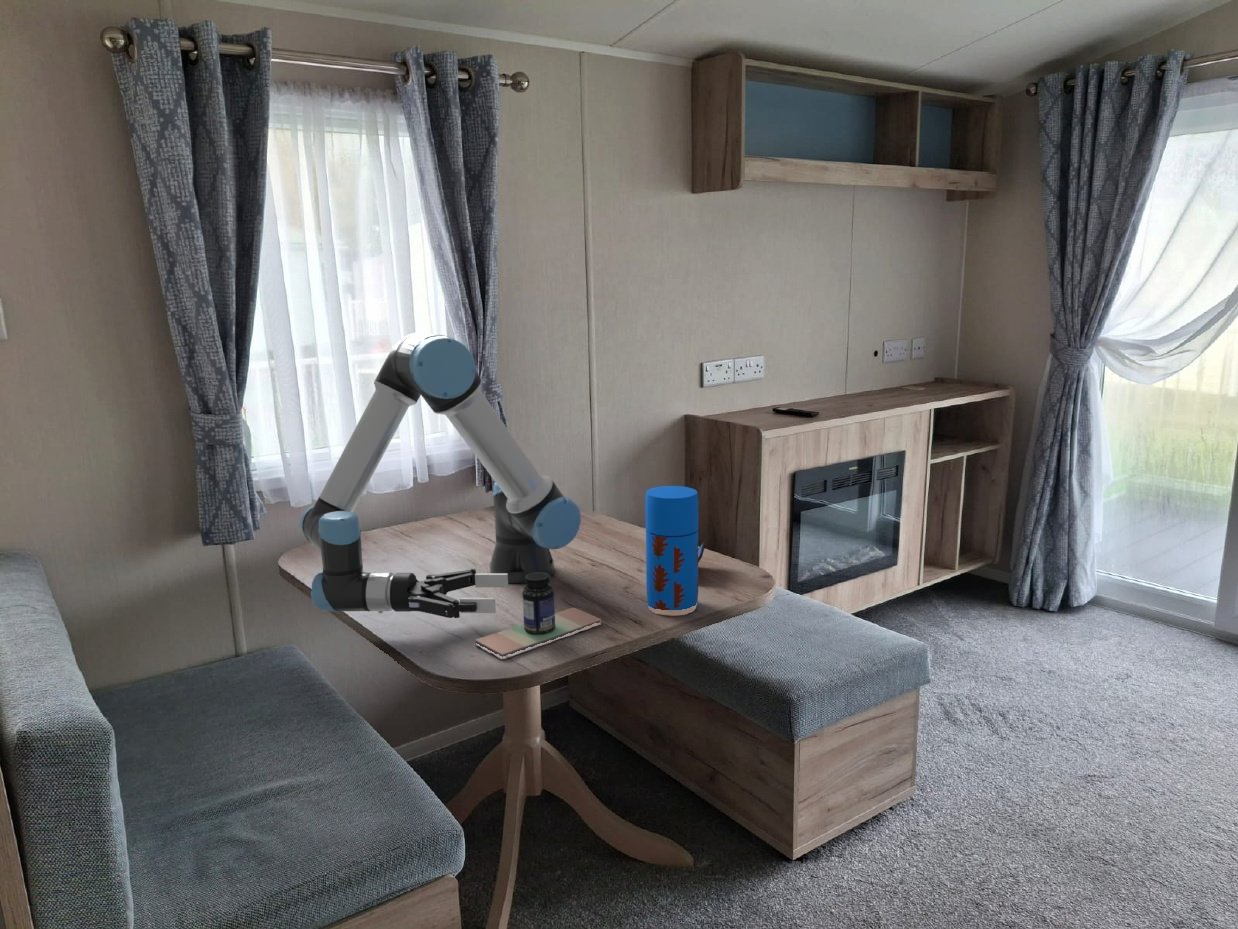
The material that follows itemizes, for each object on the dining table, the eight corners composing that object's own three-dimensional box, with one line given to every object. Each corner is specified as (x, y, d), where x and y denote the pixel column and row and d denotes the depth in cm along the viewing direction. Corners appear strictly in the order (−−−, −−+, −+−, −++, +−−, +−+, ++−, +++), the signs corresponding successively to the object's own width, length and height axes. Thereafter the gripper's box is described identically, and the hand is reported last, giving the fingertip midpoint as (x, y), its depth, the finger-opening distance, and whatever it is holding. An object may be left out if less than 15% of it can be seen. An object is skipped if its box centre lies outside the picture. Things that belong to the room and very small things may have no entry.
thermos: (667, 594, 197) (666, 483, 192) (707, 605, 190) (708, 490, 185) (636, 609, 189) (634, 493, 184) (677, 621, 182) (677, 501, 177)
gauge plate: (475, 645, 172) (475, 639, 172) (573, 612, 187) (573, 607, 187) (502, 660, 165) (502, 654, 165) (601, 624, 181) (601, 619, 181)
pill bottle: (556, 622, 179) (554, 570, 177) (554, 635, 173) (552, 581, 171) (525, 623, 179) (522, 571, 177) (522, 636, 173) (520, 581, 171)
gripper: (412, 587, 189) (513, 588, 188) (375, 635, 165) (490, 636, 163) (410, 553, 187) (511, 553, 186) (371, 597, 163) (488, 597, 162)
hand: (501, 592), depth 175 cm, fingers open, 13 cm apart
